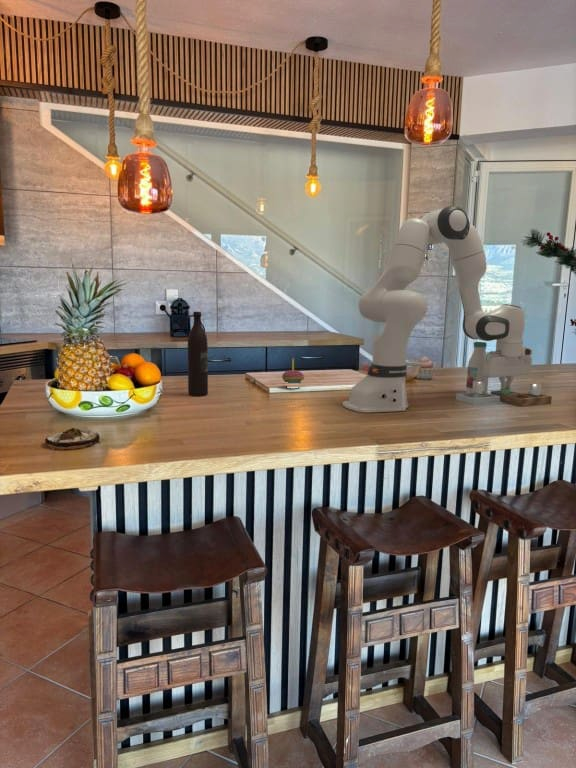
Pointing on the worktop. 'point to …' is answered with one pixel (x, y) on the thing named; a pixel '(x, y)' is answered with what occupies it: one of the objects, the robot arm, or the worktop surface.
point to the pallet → (526, 399)
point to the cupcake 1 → (293, 375)
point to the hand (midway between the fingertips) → (505, 388)
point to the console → (502, 393)
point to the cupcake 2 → (426, 369)
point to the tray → (468, 398)
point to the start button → (505, 390)
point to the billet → (478, 389)
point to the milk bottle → (477, 366)
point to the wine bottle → (197, 359)
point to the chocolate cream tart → (72, 439)
